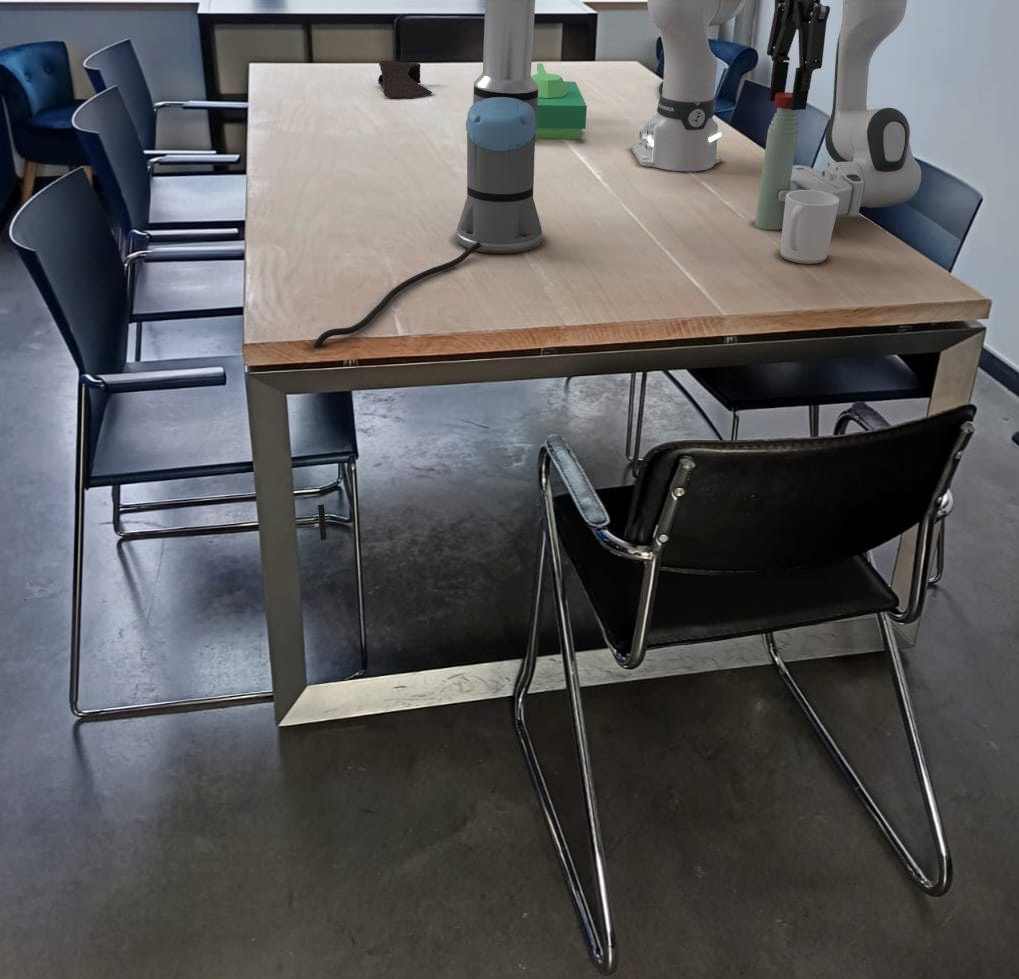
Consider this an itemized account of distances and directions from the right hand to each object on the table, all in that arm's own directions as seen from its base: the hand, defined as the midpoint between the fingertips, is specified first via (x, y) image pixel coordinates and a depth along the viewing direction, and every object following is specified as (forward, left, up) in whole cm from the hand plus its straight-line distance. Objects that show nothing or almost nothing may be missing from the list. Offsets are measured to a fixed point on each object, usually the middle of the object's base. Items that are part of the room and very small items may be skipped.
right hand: (770, 190), depth 203 cm
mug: (+18, -2, -7) cm, 19 cm away
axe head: (-127, -47, -7) cm, 136 cm away
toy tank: (-83, -20, -7) cm, 86 cm away
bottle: (0, +1, -7) cm, 7 cm away
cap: (0, +1, +17) cm, 17 cm away
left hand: (0, +1, +15) cm, 15 cm away
